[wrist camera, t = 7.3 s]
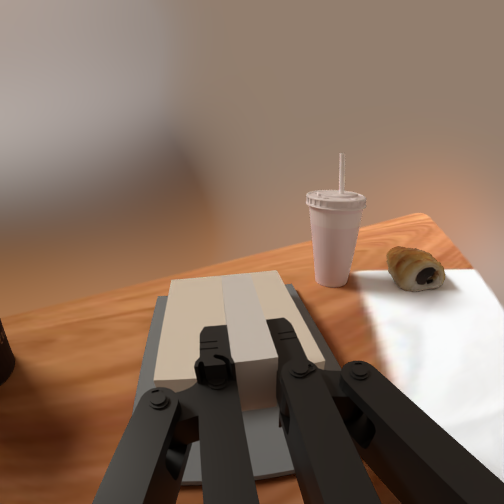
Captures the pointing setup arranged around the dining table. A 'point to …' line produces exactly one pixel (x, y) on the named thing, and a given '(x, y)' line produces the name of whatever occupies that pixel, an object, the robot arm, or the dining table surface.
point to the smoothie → (334, 230)
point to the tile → (216, 323)
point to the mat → (255, 421)
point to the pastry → (414, 269)
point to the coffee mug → (5, 357)
